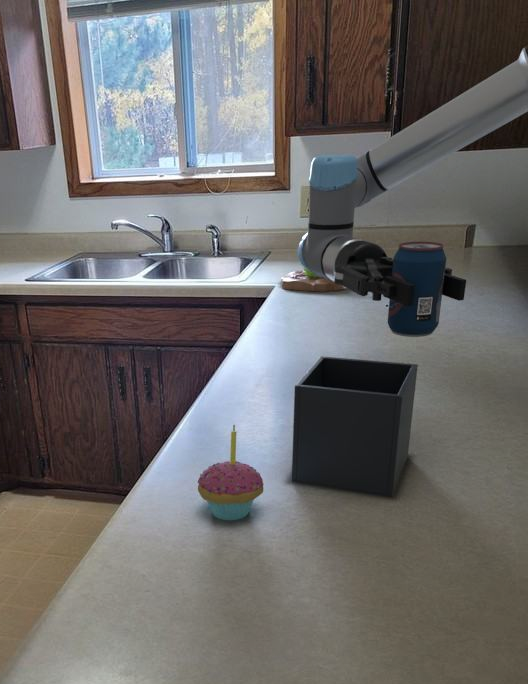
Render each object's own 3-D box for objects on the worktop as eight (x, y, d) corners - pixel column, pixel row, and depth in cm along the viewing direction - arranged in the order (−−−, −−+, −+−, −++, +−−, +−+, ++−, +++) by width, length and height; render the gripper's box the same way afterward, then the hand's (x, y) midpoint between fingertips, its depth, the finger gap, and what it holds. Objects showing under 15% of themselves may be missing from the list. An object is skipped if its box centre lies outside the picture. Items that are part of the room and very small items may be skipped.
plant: (290, 277, 234) (291, 240, 229) (352, 279, 228) (354, 241, 223) (274, 290, 218) (275, 251, 213) (341, 293, 211) (344, 252, 206)
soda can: (379, 327, 108) (387, 242, 103) (425, 324, 109) (435, 239, 103) (396, 339, 102) (405, 250, 97) (445, 336, 102) (457, 247, 97)
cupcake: (207, 496, 103) (205, 416, 97) (268, 502, 100) (270, 420, 95) (191, 526, 95) (188, 441, 90) (256, 534, 93) (257, 446, 88)
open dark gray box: (407, 459, 111) (417, 364, 104) (391, 500, 99) (402, 396, 93) (315, 447, 116) (320, 356, 109) (291, 484, 105) (294, 385, 98)
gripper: (408, 282, 122) (498, 313, 102) (297, 293, 118) (367, 328, 98) (413, 235, 119) (506, 257, 98) (298, 245, 114) (371, 270, 94)
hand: (437, 292), depth 98 cm, fingers closed on soda can, 7 cm apart
